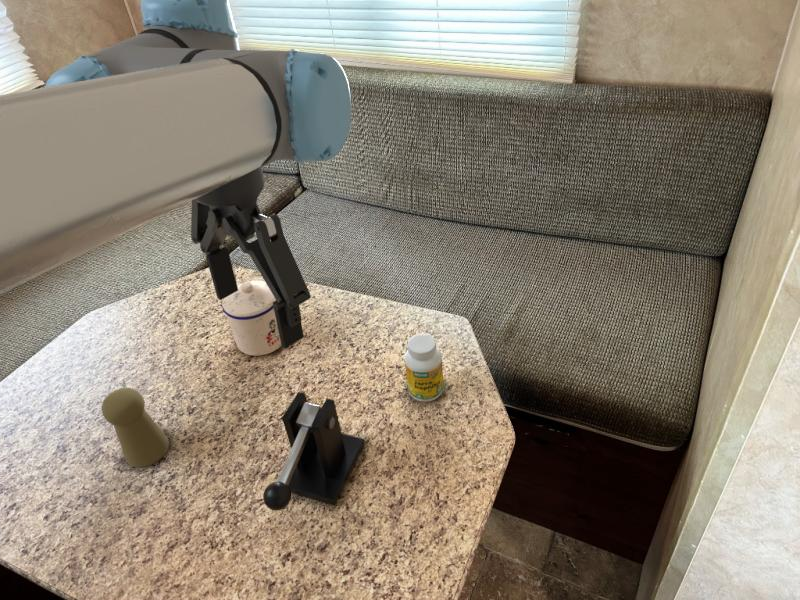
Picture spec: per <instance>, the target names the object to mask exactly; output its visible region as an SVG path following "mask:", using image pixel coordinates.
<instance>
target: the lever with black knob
mask: <svg viewBox="0 0 800 600" xmlns="http://www.w3.org/2000/svg"><path fill="white" fill-rule="evenodd" d="M321 408H322V406H321V405H317V404H314V403H309V402H308V403H304V405H303V407H302V409H301V412H300V414H299V416H298V418H297V421H296V423H297V425H298V426H299V427H300V430H299V433H298V435H297V437H296V440H295V442H294V444H293V446H292V449H291V448H290V451H289V454H288V456H287V457H286V461H285V463H284V465H283V467H282V468H281V469H282V470H281V472H280V475H279V476H278V479H277V481H273V482H271V483H269V484H268V485H267V486H266V487H265V489H264V491H263V494H262V499H263V503H264V505H265V506H266V507H267V508H268V509H269V510H272V511H276V512H277V511H281V510H284V509H285V508H287V507H288V506H289V504H290V502H291V500H292V493H291V490H290V488H289V486H288V485H289V482H290V480H291V478H292V475H293V473H294V470H295V468H296V466H297V463H298V461H299V459H300V456H301V454H302V452H303V449H304V447H305V444H306V442H307V440H308V437H309V435H310V433H313V430H312V426H311V425H312V423H313V421H314V420H315V418H316V416H317V415H318V413H319V411H320V409H321Z"/></svg>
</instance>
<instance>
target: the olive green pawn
mask: <svg viewBox="0 0 800 600" xmlns="http://www.w3.org/2000/svg"><path fill="white" fill-rule="evenodd" d="M144 399H145V398H144V397H143V394H141V392H139V391H138V390H137V389H135V388H132V387H121V388H119V389H115V390H113V391H111V392H109V394H108V395H107V396H105V398H104V400H103V402H102V405H101V413H102V416H103V418H104V419H105V421H106V422H107V423H109V424H110V425H113V427H114V430H115V433H116V436H117V439H118V442H119V444H120V447H121V450H122V453H123V456H124V459H125V461H126V462H127V464H128V465H129V466H131V467H133V468H146V467H149V466H152V465H154V464H155V463H157V462H159V461H160V460H161V459H163V457H164V456H165V455H166V453H167V451H168V450H169V446H170V441H169V438H168V437H167V436H166V434H165V433H164V431H163V430H162V428H160V426H159V425H158V424H157V423H156V422H155V420H154V419H153V418H152V417H151V415H150V414H149V412H148V411H147V410H146V409H145V407H146V405H145V400H144Z"/></svg>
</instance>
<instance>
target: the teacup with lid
mask: <svg viewBox="0 0 800 600" xmlns="http://www.w3.org/2000/svg"><path fill="white" fill-rule="evenodd" d="M237 287H238V291H237V292H235V293H233V294H231V295H229V296H227V297H225V298H224V299H222V303H221V308H222V311H223V313H224V314H225V315H226V318H227V321H228V324H229V327H230V329H231V333H232V336H233V339H234V341H235V344H236V347H237V349H238V350H239V351H240V352H241V353H243V354H245V355H249V356H255V357H256V356H264V355H265V356H266V355H268V354H271V353H273V352H276V351H277V350H278V349H280V348H281V347H282V345H281V340H280V336H279V331H278V326H277V321H276V316H275V312H274V308H273V302H274V301H276V299H275V297H274V295H273V294H272V292H271V290H270V289H269V287H268V285H267V284H266V282H265V280H249V281H243V282H242V283H239V284H237Z"/></svg>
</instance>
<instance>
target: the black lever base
mask: <svg viewBox="0 0 800 600" xmlns="http://www.w3.org/2000/svg"><path fill="white" fill-rule="evenodd" d="M304 403H309V402H308V398H307V395H306V392H302V391H298V392H296V394H295V397H294V398H293V400H292V401H291V402H290V404H289V405H288V408H287V409H286V411H285V412H284V414H283V415H282V416H281V419H282V424H283V426H284V429H285V432H286V435H287V439H288V442H289V445H290V450H291V449H292V446H293V444H294V442H295V440H296V437H297V435H298V433H299V430H300V427H299V426H298V425H297V423H296V421H297V418H298V416H299V414H300V412H301V409H302V407H303V405H304ZM311 426H312V430H313V433H310V435H309V437H308V440H307V442H306V444H305V447H304V449H303V452H302V454H301V456H300V459H299V461H298V463H297V466H296V468H295V470H294V473H293V475H292V478H291V480H290V482H289V485H288V486H289V488H290V490H291V494H292V495H296V496H298V497H299V496H300V497H303V498H307V499H310V500H313V501H316V502H320V503H324V504H328V505H330V506H336V504H337V502H338V500H339V498H340V496H341V494H342V493H343V490H344V488H345V487H346V484H347V483H348V480H349V478H350V476H351V474H352V472H353V469H354V467H355V466H356V463H357V461H358V459H359V457H360V455H361V454H362V451H363V448H365V447H364V446H365V445H366V444H365V439H364V438H362V437H357V436H353V435H350V434H346V433H342V429H341V426H340V421H339V416H338V412H337V408H336V402H335V400H334V399H331V398H325V401H324V402H323V404H322V406H321V409H320V411H319V413H318V415H317V416H316V418H315V420H314V421H313V423H312V425H311Z"/></svg>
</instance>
